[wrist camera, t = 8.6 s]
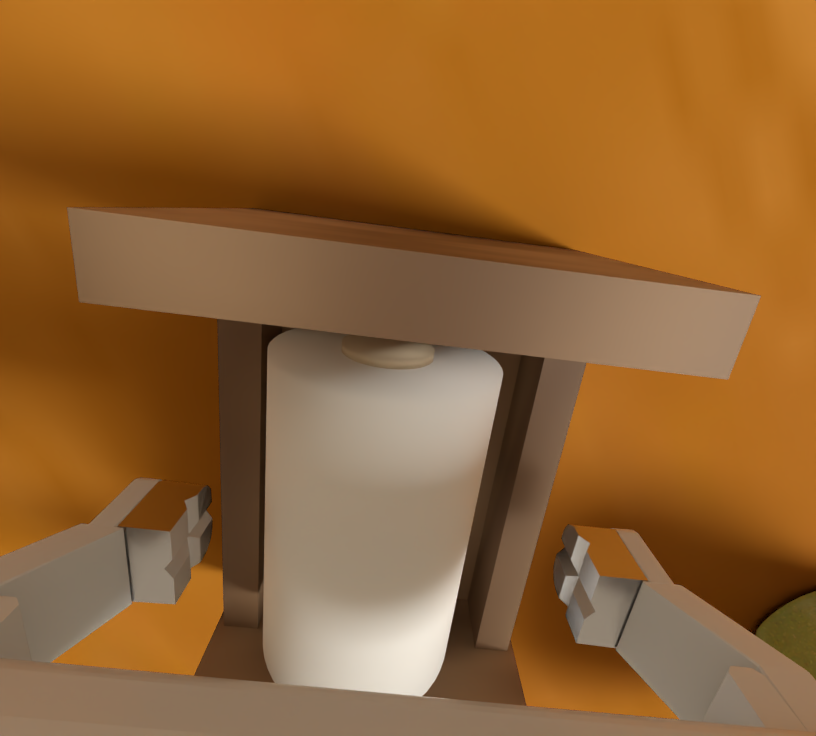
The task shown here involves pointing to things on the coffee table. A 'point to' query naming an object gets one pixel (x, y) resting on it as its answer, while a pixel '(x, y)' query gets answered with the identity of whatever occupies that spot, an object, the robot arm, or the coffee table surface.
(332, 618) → the paper roll
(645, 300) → the walnut cradle
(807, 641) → the plant pot
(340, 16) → the coffee table surface
